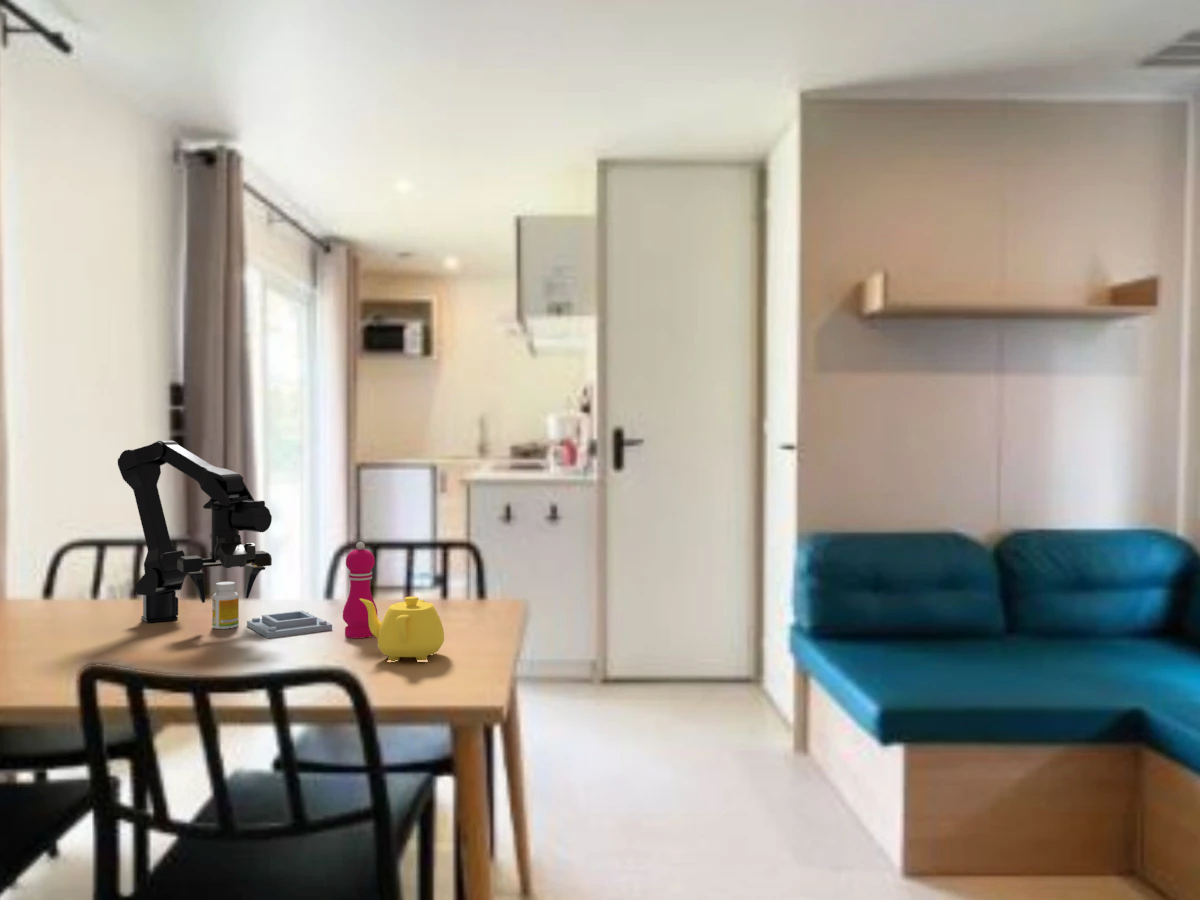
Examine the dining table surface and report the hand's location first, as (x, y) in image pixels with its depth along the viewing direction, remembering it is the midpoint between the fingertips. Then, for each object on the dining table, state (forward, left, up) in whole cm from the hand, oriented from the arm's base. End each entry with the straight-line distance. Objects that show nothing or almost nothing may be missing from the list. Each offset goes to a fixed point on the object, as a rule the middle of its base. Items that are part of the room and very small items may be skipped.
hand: (225, 600), depth 209 cm
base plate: (+11, -9, -6) cm, 15 cm away
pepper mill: (+21, -24, -6) cm, 33 cm away
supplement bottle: (0, 0, -6) cm, 6 cm away
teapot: (+20, -46, -6) cm, 51 cm away
